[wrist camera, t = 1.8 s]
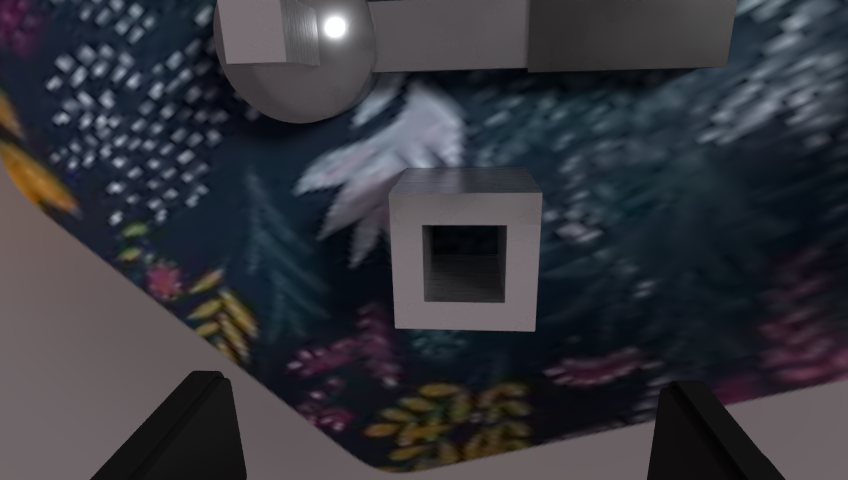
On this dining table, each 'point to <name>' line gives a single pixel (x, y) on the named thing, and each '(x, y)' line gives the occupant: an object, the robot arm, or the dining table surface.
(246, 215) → the dining table surface
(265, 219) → the dining table surface
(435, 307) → the socket
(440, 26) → the ball knob lever
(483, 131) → the dining table surface
